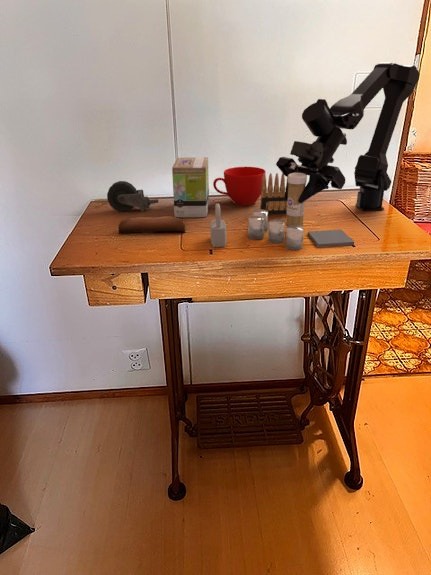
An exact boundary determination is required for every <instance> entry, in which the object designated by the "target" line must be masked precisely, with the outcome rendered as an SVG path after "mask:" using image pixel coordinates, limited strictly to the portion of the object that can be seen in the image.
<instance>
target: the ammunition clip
mask: <svg viewBox="0 0 431 575" xmlns="http://www.w3.org/2000/svg"><path fill="white" fill-rule="evenodd" d="M285 177H286V176H285V175H284V174H283V173H282V172H281V177H280V179H279V174H278V172H276V173H275V176H274V182H273V174H272V173H271V172H270V173H269V176H268V180H267V176H266V175H265V173H264V174H263V178H262V187H261V196H260V206H259V207H260V208H259V210H266V211H268V216H271V215H287V202H288V199H287V200H286V199H285V198H284V196H285V191H286V186H287V181H288V177H286V179H285ZM267 182H268V183H267ZM285 182H286V183H285ZM273 183H274V185H273ZM279 183H280V184H279Z"/></svg>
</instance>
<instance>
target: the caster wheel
mask: <svg viewBox="0 0 431 575" xmlns="http://www.w3.org/2000/svg"><path fill="white" fill-rule="evenodd" d="M144 193H145V192H144V190H143V189H136V187H135V186H134V185H133V184H132V183H130V182H128V181H125V180H119V181H116V182H114V183H112V185H111V186H110V187H109V188H108V191H107V193H106V196H107V197H106V199H107V202H108V204H109V206H110V207H111V208H112V209H113V210H115V211H118V212H119V213H121V212H122V213H127V212H129V211H132V210H133V209H134V208H140V209H139V210H140V212H141V213H143V212H144V213H145V211H146V209H147V210H148V209H150V206H151V205H153V204H158V203H159V199H157V198H156V199H149V197H148V196H145V194H144ZM144 210H145V211H144Z"/></svg>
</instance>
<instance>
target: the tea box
mask: <svg viewBox="0 0 431 575" xmlns="http://www.w3.org/2000/svg"><path fill="white" fill-rule="evenodd" d="M171 169H172V170H171V171H172V191H173V214H174V216H173V217H175V218H206V217H207V215H208V211H209V204H210V186H209V157H206V156H205V157H177V158H176V160H175V161H174V164H173V166H172V167H171Z"/></svg>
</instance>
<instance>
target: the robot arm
mask: <svg viewBox="0 0 431 575" xmlns="http://www.w3.org/2000/svg"><path fill="white" fill-rule="evenodd" d="M419 79H420V71H419V70H418V68H417V66H416V65H403V64H398V63H396V62H393V61H387V62H385V61H384V62H381V61H380V62H379V63H376V64H375V65H374V67H373V70H371V72H370V73H369V74H368V75H367V76H366V77H365V79H364V80H363V81H362V82H361V83H359V85H358V86H357V87H356V88H355V89H354V90H353V92H352V93H351V94H349V95H348V96H345V97H343V98H341V99H339V100H337V101H336V102H335V103H334V104H332V105H331V106H330V107H329V105H328V102H327V100H326V99H323V98H318V99H317V100H316V102H314V103H312V104H310V105H308V106H307V107H305V108H304V109H303V112H301V113H302V114H301V119H302V120H303V122H304V124H305V126H306V127H307V128H308V130H309V131H310V132H311V134H312V135H313V136H314V137H316V140H315V141H313V142H312V143H307V142H304V141H298V140H297V141H296V140H294V142H293V144H292V147H291V150H290V153H289V155H291V156H295V157H297V161H298V162H299V163H301V164H297V162H296V161H295V159H294V158H291V157H286V156H281V157H279V158H278V160H277V161H276V163H275V166H277V168H278V169H279V170H280V172H281V174H282V173H283V174H284V176H285V177H286V178H287V177H288V175H289V174H291V173H304V174H306V175H307V176H309V180H308V182H307V183H306V186H305V189H304V190H303V192H302V194H301V195H300V198H299V200H298V202H299V203H303V202H304V201H305V202H306V201H307V200H309V199H311V198H312V197H314V196H315V195H317V194H319V193H320V192H322V191H324V190H329V188H330V187H329V185H331V187H332V188H333V189H338V190H342V189H343V188H344V186H345V184H346V177H345V175H344V174H343V172H342V171H341V169H340V168H339V167H338V166H336V165H335V166H334V165H329V164H333V163H334V161H335V159H334V155H335V153H336V151H337V150H338V148H339V147H340V145H344V146H346V145H347V144H348V139H347V134H346V133H344V132H343V130H354V129H355V128H357V126H358V125H359V124H360V122H361V121H362V119H363V117H364V114H365V113H364V112H365V108H366V107H367V106H368V105H369V103H371V101H372V100H373V99H374V98H376V96H377V95H378V94H379V93H380V92H381V90H383V93H384V101H383V104H382V107H381V111H380V113H379V117H378V119H377V122H376V126H375V128H374V132H373V135H372V138H371V141H370V145H369V148H368V150H367V151H366V152H365V153H364V154H360V155H359V156H358V158H357V163H356V165H355V167H354V173H353V174H354V182H355V186H356V187H359V191H358V192H357V194H356V196H357V197H356V203H355V206H356V207H357V208H359V209H360V210H361V211H364V212H371V211H383V210H384V211H385V207H383V202H384V201H383V200H384V197H385V196H384V194H385V192H386V191H388V190H389V189H390V187H391V185H392V179H391V178H390V176H389V174H388V172H387V171H388V167H389V163H388V158H387V152H388V148H389V146H390V143H391V140H392V137H393V135H394V131H395V127H396V125H397V122H398V119H399V115H400V112H401V110H402V106H403V103H405V101H406V100H407V99H408V98H409V97H410V96H412V94H413V92H414V90H415V87H416V86H417V83H418V82H419ZM342 129H343V130H342ZM286 183H287V186H286V185H285V196H284V198H285V199H286V200H287V199H288V185H289V184H288V181H287V180H286Z"/></svg>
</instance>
